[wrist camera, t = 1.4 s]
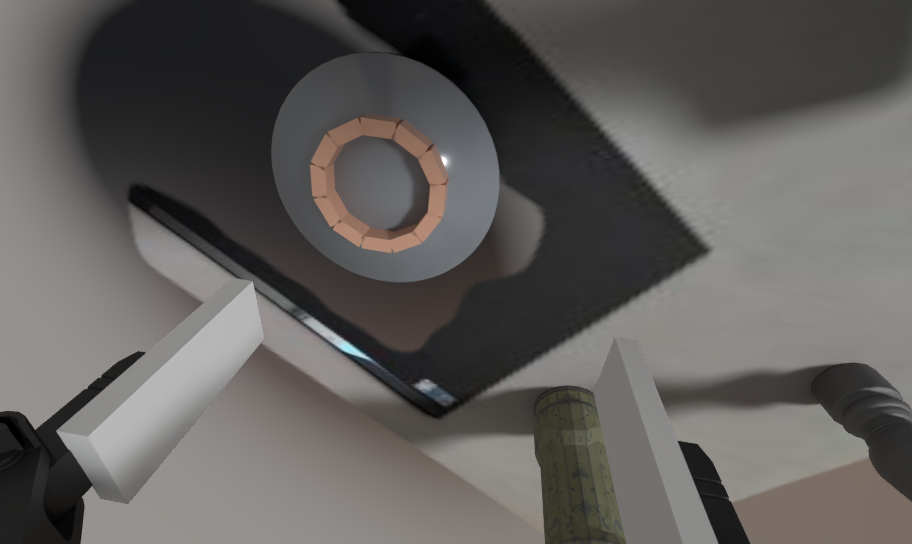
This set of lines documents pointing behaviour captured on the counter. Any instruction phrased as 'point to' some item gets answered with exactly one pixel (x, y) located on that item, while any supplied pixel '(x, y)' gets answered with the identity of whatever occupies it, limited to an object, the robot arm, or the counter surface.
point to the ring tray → (385, 166)
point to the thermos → (575, 470)
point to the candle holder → (871, 418)
